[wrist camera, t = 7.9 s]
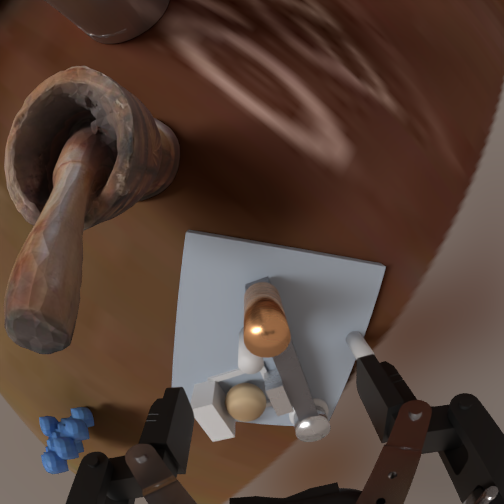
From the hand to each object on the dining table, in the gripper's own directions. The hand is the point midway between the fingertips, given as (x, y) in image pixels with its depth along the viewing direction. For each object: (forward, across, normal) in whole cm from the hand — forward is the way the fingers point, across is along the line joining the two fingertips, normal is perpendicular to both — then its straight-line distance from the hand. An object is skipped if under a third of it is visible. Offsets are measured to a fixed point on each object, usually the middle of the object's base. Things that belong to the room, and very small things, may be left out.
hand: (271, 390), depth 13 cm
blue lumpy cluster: (+15, +26, +14) cm, 33 cm away
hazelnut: (+14, +3, +11) cm, 18 cm away
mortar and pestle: (+15, +7, -11) cm, 20 cm away
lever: (+13, -1, +9) cm, 16 cm away
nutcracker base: (+15, 0, +7) cm, 17 cm away
